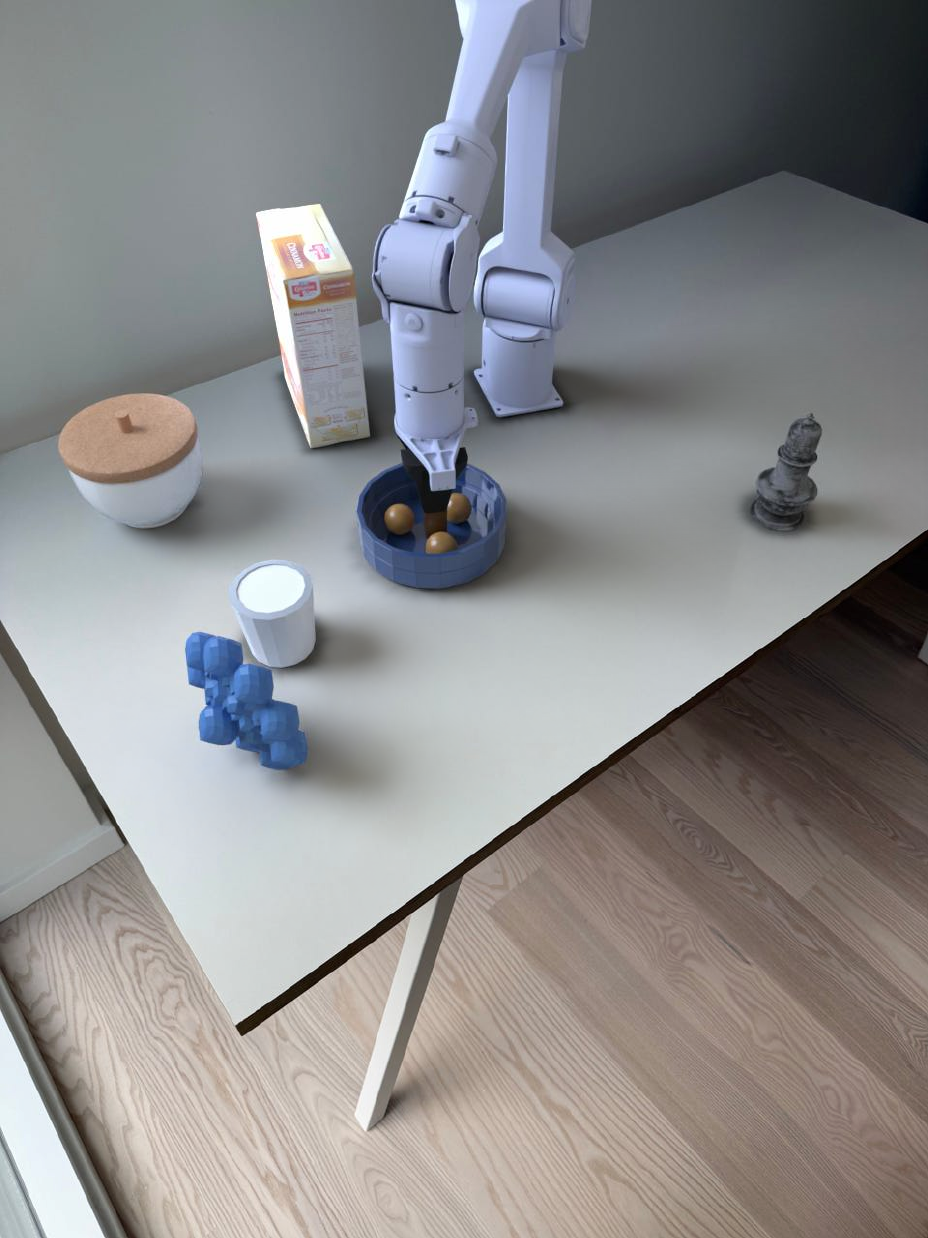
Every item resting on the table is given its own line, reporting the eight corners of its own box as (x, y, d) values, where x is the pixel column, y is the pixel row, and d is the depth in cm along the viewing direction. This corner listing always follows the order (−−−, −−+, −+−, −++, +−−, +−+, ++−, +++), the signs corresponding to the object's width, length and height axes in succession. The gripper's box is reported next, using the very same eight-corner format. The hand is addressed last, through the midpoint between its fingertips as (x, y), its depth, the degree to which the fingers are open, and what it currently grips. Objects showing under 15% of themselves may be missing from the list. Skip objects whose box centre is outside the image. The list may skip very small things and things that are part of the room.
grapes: (169, 743, 71) (126, 647, 62) (233, 690, 75) (201, 592, 66) (268, 825, 66) (237, 734, 57) (332, 765, 70) (312, 670, 61)
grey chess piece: (809, 536, 87) (848, 436, 78) (747, 529, 88) (779, 428, 79) (805, 498, 91) (842, 398, 82) (746, 491, 92) (777, 391, 83)
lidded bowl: (238, 480, 93) (216, 389, 85) (173, 560, 85) (142, 468, 77) (133, 455, 96) (102, 365, 88) (62, 530, 88) (20, 439, 80)
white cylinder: (246, 616, 80) (231, 560, 75) (323, 611, 81) (313, 555, 76) (240, 676, 76) (224, 621, 71) (321, 670, 76) (311, 616, 71)
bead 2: (422, 551, 85) (421, 528, 83) (452, 545, 86) (452, 522, 84) (430, 573, 83) (429, 549, 81) (461, 566, 84) (461, 543, 82)
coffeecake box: (283, 376, 106) (253, 210, 91) (341, 365, 107) (322, 201, 93) (308, 450, 96) (280, 279, 82) (372, 437, 98) (355, 267, 83)
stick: (423, 525, 86) (422, 440, 78) (443, 523, 86) (444, 438, 79) (426, 539, 85) (425, 454, 77) (447, 537, 85) (448, 452, 77)
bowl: (348, 507, 90) (343, 472, 87) (480, 482, 93) (481, 447, 89) (378, 605, 81) (374, 570, 78) (524, 574, 84) (526, 539, 80)
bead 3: (437, 512, 89) (437, 489, 87) (466, 507, 89) (466, 484, 87) (445, 532, 87) (445, 509, 85) (475, 526, 88) (475, 503, 85)
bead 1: (381, 523, 88) (379, 500, 86) (411, 518, 88) (410, 494, 86) (388, 543, 86) (386, 520, 84) (418, 537, 86) (417, 514, 84)
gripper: (494, 420, 68) (490, 549, 78) (462, 322, 78) (462, 448, 88) (402, 429, 67) (410, 559, 77) (381, 329, 77) (391, 456, 87)
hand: (432, 501), depth 82 cm, fingers closed on stick, 2 cm apart
